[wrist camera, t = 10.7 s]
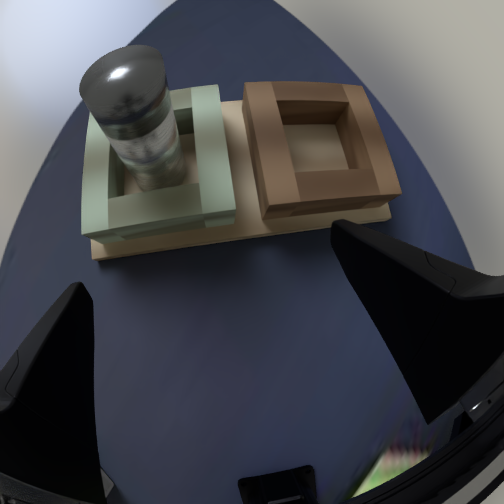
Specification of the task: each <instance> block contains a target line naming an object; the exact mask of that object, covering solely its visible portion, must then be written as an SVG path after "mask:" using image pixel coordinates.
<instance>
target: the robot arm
mask: <svg viewBox="0 0 504 504" xmlns="http://www.w3.org/2000/svg"><path fill="white" fill-rule="evenodd" d="M331 246H332V248H333V250H334V252H335V254H336V256H337V258H338V260H339V262H340V264H341V266H342V268H343V271H344V273H345V275H346V277H347V279H348V280H349V282H350V284H351V285H352V287H353V289H354V290H355V292H356V294H357V295H358V297H359V299H360V300H361V302H362V304H363V305H364V307H365V309H366V310H367V312H368V314H369V315H370V317H371V319H372V320H373V322H374V324H375V326H376V327H377V329H378V331H379V333H380V334H381V336H382V338H383V340H384V341H385V343H386V345H387V347H388V349H389V350H390V352H391V354H392V356H393V358H394V360H395V361H396V363H397V365H398V367H399V369H400V371H401V373H402V374H403V377H404V379H405V381H406V383H407V385H408V386H409V388H410V390H411V392H412V394H413V396H414V398H415V400H416V402H417V404H418V406H419V408H420V411H421V413H422V415H423V417H424V419H425V421H426V423H427V424H428V425H429V424H431V423H432V422H434V421H435V420H437V419H438V418H440V417H441V416H442V415H444V414H445V413H447V412H448V411H449V410H451V409H452V408H453V407H455V406H456V405H457V404H459V403H461V405H462V407H463V408H464V410H465V411H464V412H463V413H462V414H460V415H459V416H458V417H457V418H455V419H454V424H453V429H452V433H451V437H450V441H449V443H447V444H446V445H445V446H443V447H442V448H441V449H439V450H438V451H436V452H435V453H433V454H432V455H430V456H429V457H427V458H426V459H424V460H423V461H421V462H420V463H418V464H416V465H415V466H413V467H412V468H410V469H408V470H407V471H405V472H403V473H401V474H400V475H398V476H396V477H394V478H392V479H391V480H389V481H387V482H385V483H383V484H381V485H379V486H377V487H375V488H373V489H371V490H369V491H367V492H365V493H362V494H360V495H358V496H356V497H353V498H351V499H349V500H346V501H344V502H341V503H339V504H480V503H481V502H482V501H483V500H485V499H486V498H487V497H488V496H489V495H490V494H491V493H492V492H493V491H494V490H495V489H496V488H497V487H498V486H499V485H500V484H501V483H502V482H503V481H504V275H502V276H490V275H486V274H483V273H480V272H478V271H475V270H472V269H470V268H467V267H464V266H462V265H459V264H456V263H454V262H451V261H449V260H446V259H444V258H441V257H439V256H436V255H434V254H432V253H429V252H427V251H424V250H422V249H420V248H417V247H415V246H413V245H410V244H408V243H405V242H403V241H400V240H398V239H395V238H393V237H390V236H388V235H385V234H383V233H380V232H378V231H375V230H372V229H370V228H367V227H364V226H362V225H359V224H356V223H354V222H351V221H348V220H346V219H338V220H334V221H333V222H332V224H331ZM309 469H310V470H309ZM306 470H309V471H306ZM242 483H246V484H242ZM238 487H239V491H240V494H241V498H242V501H243V504H319V503H318V501H317V496H316V485H315V475H314V469H313V467H312V466H311V465H306V466H302V467H298V468H294V469H290V470H285V471H281V472H276V473H271V474H266V475H260V476H254V477H248V478H242V479H239V480H238ZM80 503H84V504H107V501H106V496H105V491H104V486H103V480H102V474H101V468H100V461H99V453H98V446H97V436H96V424H95V407H94V312H93V300H92V298H91V296H90V294H89V293H88V291H87V289H86V288H85V286H84V284H83V283H82V282H76V283H72V284H71V285H70V286H69V287H68V288H67V289H66V290H65V291H64V292H63V293H62V294H61V296H60V297H59V298H58V299H57V300H56V301H55V303H54V304H53V305H52V306H51V307H50V308H49V310H48V311H47V312H46V313H45V314H44V315H43V317H42V318H41V319H40V320H39V322H38V323H37V324H36V325H35V327H34V328H33V329H32V330H31V332H30V333H29V334H28V335H27V337H26V338H25V339H24V341H23V342H22V343H21V345H20V346H19V347H18V350H16V351H15V353H14V354H13V355H12V357H11V358H10V359H9V361H8V362H7V363H6V365H5V366H4V367H3V369H2V370H1V371H0V504H80Z"/></svg>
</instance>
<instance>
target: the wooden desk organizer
mask: <svg viewBox="0 0 504 504" xmlns="http://www.w3.org/2000/svg"><path fill="white" fill-rule="evenodd" d="M169 92H170V97H171V102H172V107H173V111H174V116H175V120H176V125H177V129H178V133H179V138H180V142H181V146H182V150H183V155H184V159H185V163H186V176H185V179H184V181H183V182H182V184H181V185H180V186H175V187H169V188H163V189H157V190H151V191H146V192H144V191H143V190H142V189H141V188H140V187H139V186H138V184H137V183H136V181H135V180H134V178H133V177H132V175H131V174H130V172H129V171H128V169H127V168H126V166H125V165H124V163H123V162H122V160H121V159H120V157H119V156H118V154H117V153H116V151H115V150H114V148H113V147H112V145H111V144H110V142H109V141H108V139H107V138H106V136H105V134H104V133H103V131H102V130H101V128H100V127H99V125H98V123H97V122H96V120H95V119H94V117H93V115H92V114H91V112H90V117H89V123H88V130H87V138H86V146H85V156H84V168H83V183H82V235H84V236H86V237H88V238H90V239H91V250H92V259H93V260H96V261H100V260H107V259H113V258H119V257H126V256H132V255H139V254H145V253H152V252H159V251H165V250H172V249H179V248H185V247H192V246H199V245H206V244H213V243H220V242H227V241H234V240H241V239H249V238H256V237H263V236H271V235H278V234H285V233H293V232H301V231H308V230H316V229H324V228H331V224H332V222H333V221H334V220H338V219H346V220H348V221H351V222H354V223H356V224H363V223H372V222H380V221H386V220H388V219H390V218H392V217H391V213H390V209H389V205H388V202H389V201H391V200H392V199H394V198H396V197H397V196H399V195H401V194H402V191H401V188H400V185H399V181H398V178H397V175H396V172H395V168H394V165H393V162H392V159H391V156H390V154H389V151H388V148H387V145H386V142H385V140H384V137H383V134H382V132H381V129H380V127H379V124H378V122H377V119H376V117H375V114H374V112H373V110H372V107H371V105H370V103H369V100H368V98H367V96H366V94H365V91H364V89H363V87H362V86H357V85H347V84H336V83H321V82H292V81H275V82H245V84H244V93H243V100H240V101H228V102H220V96H219V89H218V85H209V86H200V87H193V88H185V89H179V90H173V91H169Z"/></svg>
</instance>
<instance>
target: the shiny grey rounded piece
mask: <svg viewBox="0 0 504 504" xmlns="http://www.w3.org/2000/svg"><path fill="white" fill-rule="evenodd" d="M79 92H80V95H81V97H82V99H83V101H84V102H85V104H86V106H87V107H88V109H89V110H90V112H91V114H92V115H93V117H94V119H95V120H96V122H97V123H98V125H99V127H100V128H101V130H102V131H103V133H104V134H105V136H106V138H107V139H108V141H109V142H110V144H111V145H112V147H113V148H114V150H115V151H116V153H117V154H118V156H119V157H120V159H121V160H122V162H123V163H124V165H125V166H126V168H127V169H128V171H129V172H130V174H131V175H132V177H133V178H134V180H135V181H136V183H137V184H138V186H139V187H140V188H141V189H142V190H143V191H144V192H146V191H151V190H157V189H163V188H169V187H175V186H180V185H181V184H182V182H183V181H184V179H185V176H186V163H185V159H184V155H183V150H182V146H181V142H180V138H179V133H178V129H177V125H176V120H175V116H174V111H173V107H172V102H171V97H170V92H169V88H168V83H167V78H166V73H165V68H164V63H163V58H162V55H161V54H160V52H159V51H158V50H156V49H155V48H152V47H150V46H145V45H132V46H126V47H122V48H119V49H116V50H114V51H112V52H110V53H108V54H106V55H104V56H103V57H101V58H100V59H98V60H97V61H96V62H95V63H94V64H92V65H91V67H89V69H88V70H87V71H86V72H85V74H84V76H83V77H82V80H81V83H80V87H79Z"/></svg>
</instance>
